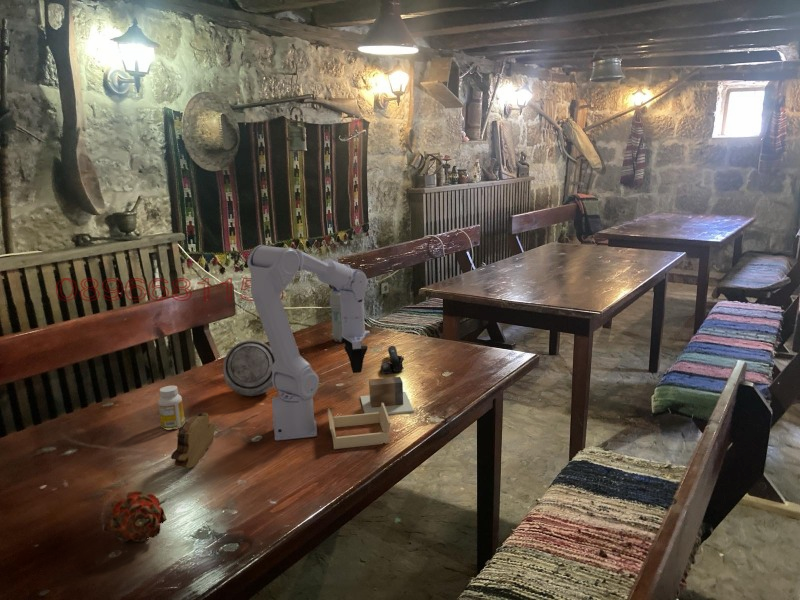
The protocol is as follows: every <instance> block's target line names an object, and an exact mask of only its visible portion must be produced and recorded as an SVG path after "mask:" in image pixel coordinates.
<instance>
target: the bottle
mask: <svg viewBox="0 0 800 600" xmlns="http://www.w3.org/2000/svg"><path fill="white" fill-rule="evenodd" d="M329 294H330V295H329V307H330V310H331V311H330V312H331V324H332V325H331V326H332V328H331V335H332V339H333V340H334V341H335V342H339V343H342V342H343V339H342V318H341V300H340V290H337V289H336V287H334V286H333V291H332V292H331V293H329Z"/></svg>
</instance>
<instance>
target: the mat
mask: <svg viewBox="0 0 800 600" xmlns="http://www.w3.org/2000/svg"><path fill="white" fill-rule="evenodd" d="M359 398H360V401H361V406H362V409H363V414H366V413H376V412H379V411H380V407H373V408H372V407H371V403H370V394H369V395H360V397H359ZM385 408H386V411H387V414H388V416H391V415H401V414H409V413H414V410H415V409H414V408H413V406H412V404H411V401H410V399H409V396H408V395H407V392H406V391H403V405H394V406H385Z"/></svg>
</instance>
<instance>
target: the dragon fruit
mask: <svg viewBox="0 0 800 600" xmlns="http://www.w3.org/2000/svg"><path fill="white" fill-rule="evenodd" d="M111 516H112V518H111V519H109V518H110V517H111ZM108 519H109V521H108V522H107V523H102V531H103V532H104V533H108V532H113V531H115V532H116V531H118V532H117V538H118V540H119V541H122V542H128V541H130V540H132V541H133V542H136V543H137V542H139V543H140V542H145V540H146V541H149V539H150V538H151V539H153V538H155V537H157V536H158V535H159V534H160V532H161V524H164V522H166V521H167V517H166V515H165V510H164V507H162V506H161V503H160V499H159V498H158V497H157V496H156V495H154V494H152V493H148V494H147V495H145V493H143V492H142V491H139V490H137V491H130V492H128V493H127V494H126V498H123V499H120V500H118V501H117V502H114V503H112V504H111V507H110V509H109V514H108V515H107V516H105V520H108ZM149 537H150V538H149ZM147 538H149V539H147ZM129 539H130V540H129Z"/></svg>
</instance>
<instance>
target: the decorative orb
mask: <svg viewBox="0 0 800 600" xmlns="http://www.w3.org/2000/svg"><path fill="white" fill-rule="evenodd" d="M275 361H276V360H275V358H274V355H273V352H272V350H271V347H270V345H268V344H267V343H265V342H262V341H260V340H255V339H254V340H252V339H248V340H244V341H240V342H238V343H237V344H234V346H232V347H231V348H230V349H229V350H228V352H227V353H226V355H225V356H224V359H223V363H222V376H223V378H224V381H225V383H226V385H227V386H228V387H229V388H230V389H231V390H232V391H234V392H235V393H236V394H239V395H241V396H246V397H254V396H260V395H262V394H264V393H267V392H268V391H269V390H270V389H271V388H272V387H274V386H273V383H272V371H271V366H272V365H273V363H274V362H275Z"/></svg>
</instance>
